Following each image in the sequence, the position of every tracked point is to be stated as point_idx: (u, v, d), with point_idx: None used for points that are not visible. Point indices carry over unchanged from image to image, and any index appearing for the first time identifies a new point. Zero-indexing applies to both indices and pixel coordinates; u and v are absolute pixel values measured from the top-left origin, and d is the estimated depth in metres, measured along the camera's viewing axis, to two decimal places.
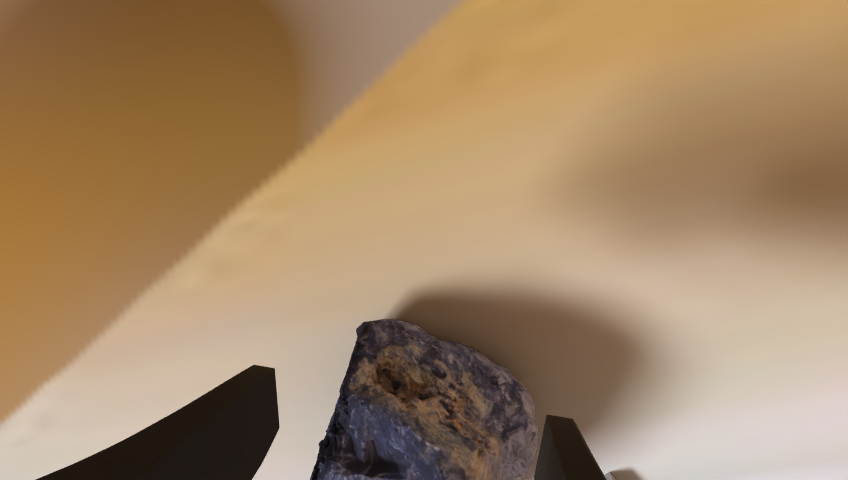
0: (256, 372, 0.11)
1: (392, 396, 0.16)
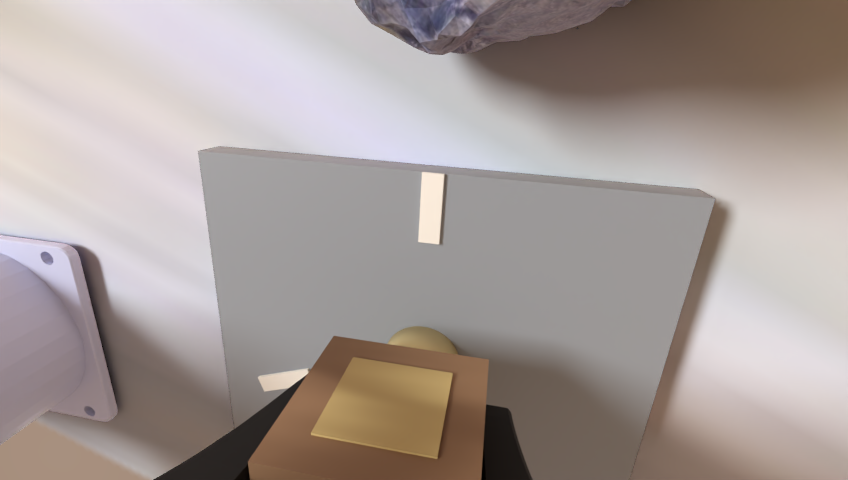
0: None
1: None
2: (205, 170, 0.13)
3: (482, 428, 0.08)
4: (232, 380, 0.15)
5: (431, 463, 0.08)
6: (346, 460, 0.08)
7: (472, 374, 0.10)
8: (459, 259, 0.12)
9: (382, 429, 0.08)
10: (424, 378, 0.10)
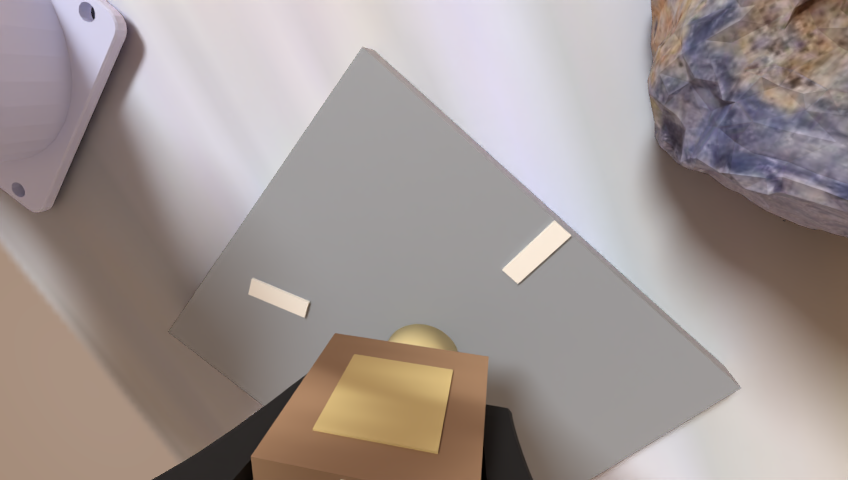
0: None
1: None
2: (355, 70, 0.11)
3: (482, 424, 0.09)
4: (220, 264, 0.14)
5: (432, 458, 0.08)
6: (348, 455, 0.08)
7: (472, 371, 0.10)
8: (522, 304, 0.13)
9: (383, 424, 0.08)
10: (424, 375, 0.10)
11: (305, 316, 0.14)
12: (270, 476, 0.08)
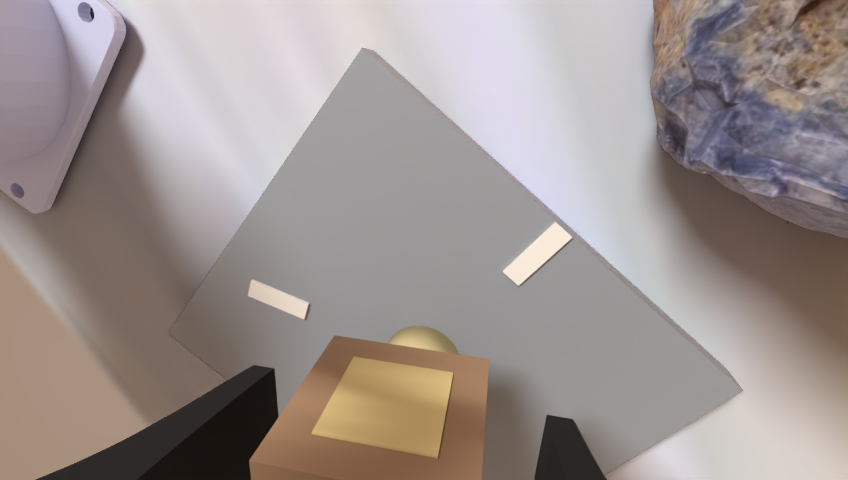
0: (256, 372, 0.11)
1: None
2: (354, 70, 0.11)
3: (482, 427, 0.08)
4: (219, 265, 0.14)
5: (432, 462, 0.08)
6: (347, 459, 0.08)
7: (472, 374, 0.10)
8: (523, 306, 0.12)
9: (382, 428, 0.08)
10: (424, 378, 0.10)
11: (305, 317, 0.14)
12: None
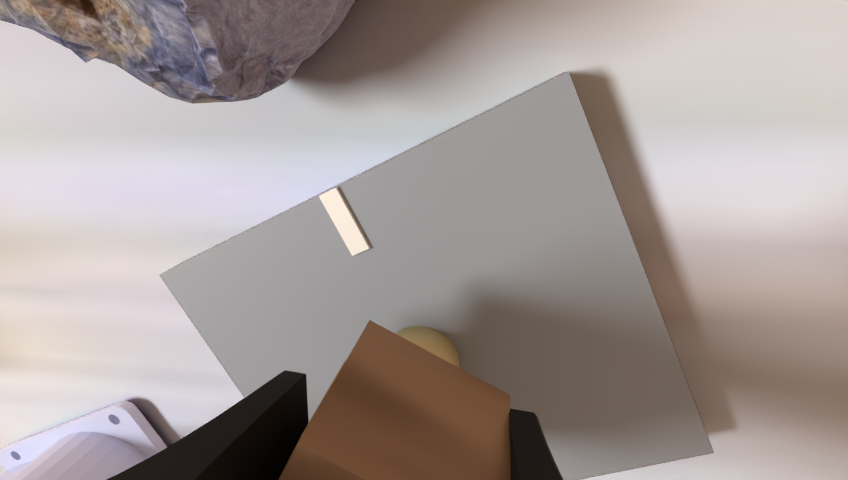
0: (288, 377, 0.11)
1: None
2: (172, 287, 0.14)
3: (335, 378, 0.09)
4: None
5: (298, 445, 0.08)
6: None
7: None
8: (394, 252, 0.13)
9: None
10: None
11: None
12: None
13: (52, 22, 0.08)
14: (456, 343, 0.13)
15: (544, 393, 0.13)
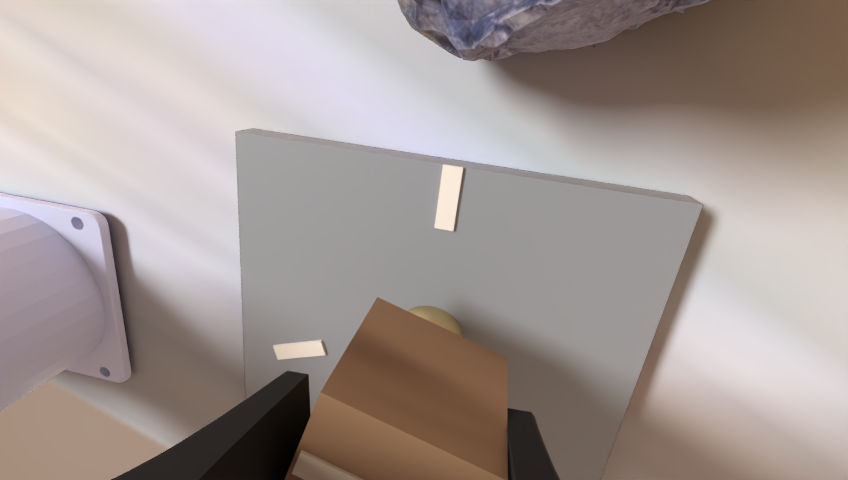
0: (291, 378, 0.11)
1: None
2: (240, 150, 0.14)
3: (349, 343, 0.10)
4: (247, 348, 0.17)
5: None
6: None
7: None
8: (470, 246, 0.13)
9: None
10: None
11: (326, 353, 0.16)
12: None
13: None
14: None
15: None
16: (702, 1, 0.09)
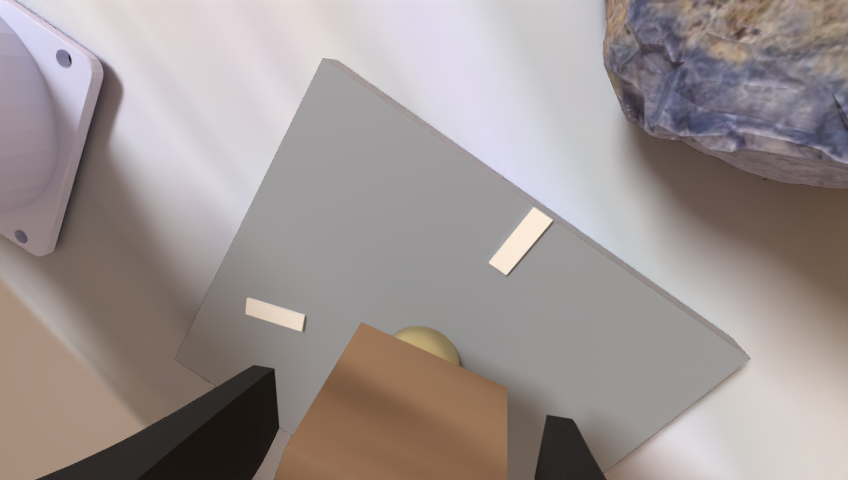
0: (256, 372, 0.11)
1: None
2: (318, 81, 0.11)
3: (325, 381, 0.09)
4: (215, 287, 0.14)
5: None
6: None
7: None
8: (514, 296, 0.12)
9: None
10: None
11: (303, 329, 0.14)
12: None
13: None
14: None
15: None
16: None
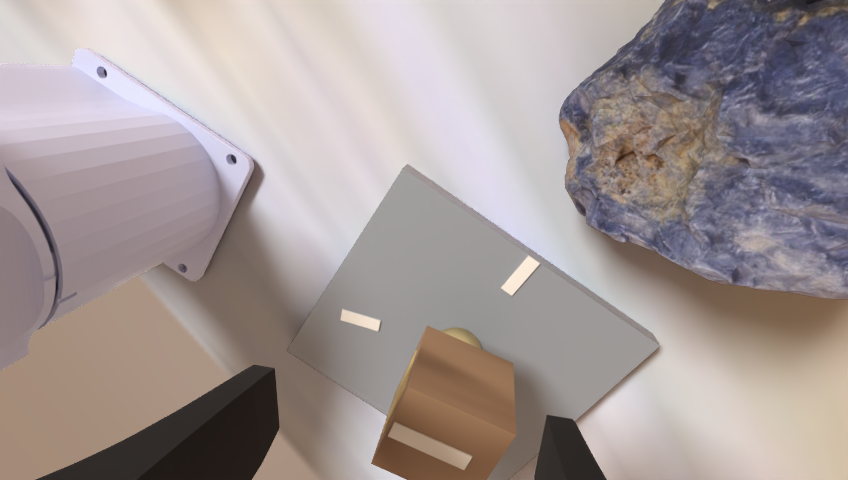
0: (256, 372, 0.11)
1: None
2: (399, 181, 0.19)
3: (417, 357, 0.16)
4: (320, 302, 0.22)
5: (403, 392, 0.16)
6: (388, 425, 0.16)
7: (421, 340, 0.18)
8: (516, 308, 0.20)
9: (395, 401, 0.16)
10: (410, 365, 0.18)
11: (378, 330, 0.22)
12: (383, 461, 0.16)
13: (605, 145, 0.14)
14: None
15: None
16: None
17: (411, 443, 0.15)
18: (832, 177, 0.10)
